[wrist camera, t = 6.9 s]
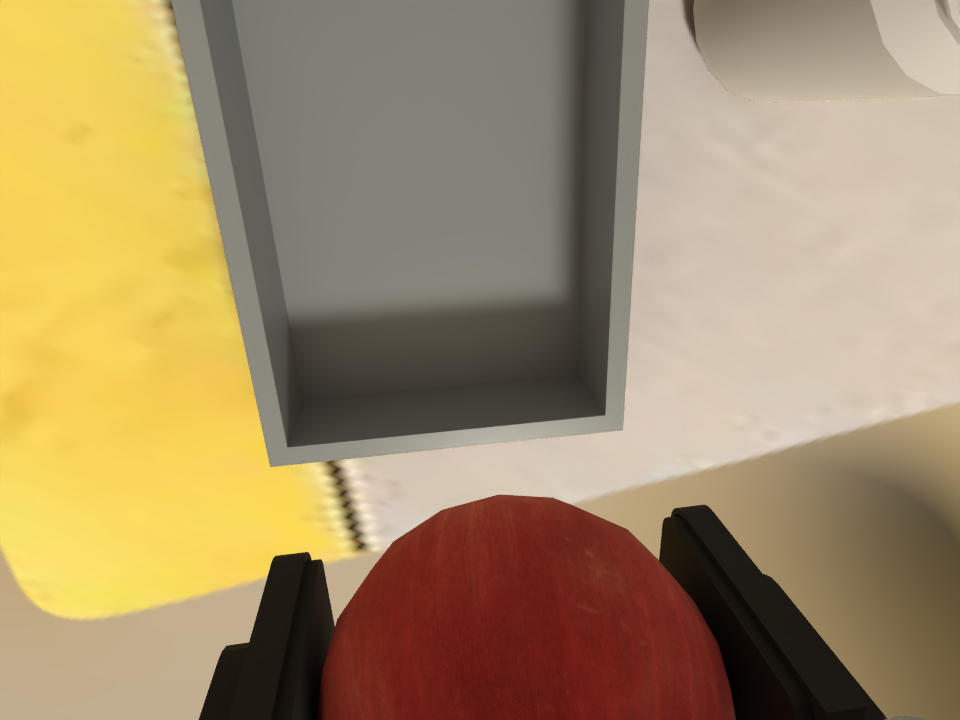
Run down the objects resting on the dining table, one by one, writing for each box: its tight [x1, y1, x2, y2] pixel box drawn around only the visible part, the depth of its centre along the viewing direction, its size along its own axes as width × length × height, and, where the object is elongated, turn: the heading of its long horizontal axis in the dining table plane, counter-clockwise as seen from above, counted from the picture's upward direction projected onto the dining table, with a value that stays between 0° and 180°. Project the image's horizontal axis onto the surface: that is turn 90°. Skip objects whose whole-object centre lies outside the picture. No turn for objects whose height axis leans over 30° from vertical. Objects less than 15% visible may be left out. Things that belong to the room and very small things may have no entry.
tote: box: [171, 0, 649, 467], centre depth 23 cm, size 15×20×5 cm
